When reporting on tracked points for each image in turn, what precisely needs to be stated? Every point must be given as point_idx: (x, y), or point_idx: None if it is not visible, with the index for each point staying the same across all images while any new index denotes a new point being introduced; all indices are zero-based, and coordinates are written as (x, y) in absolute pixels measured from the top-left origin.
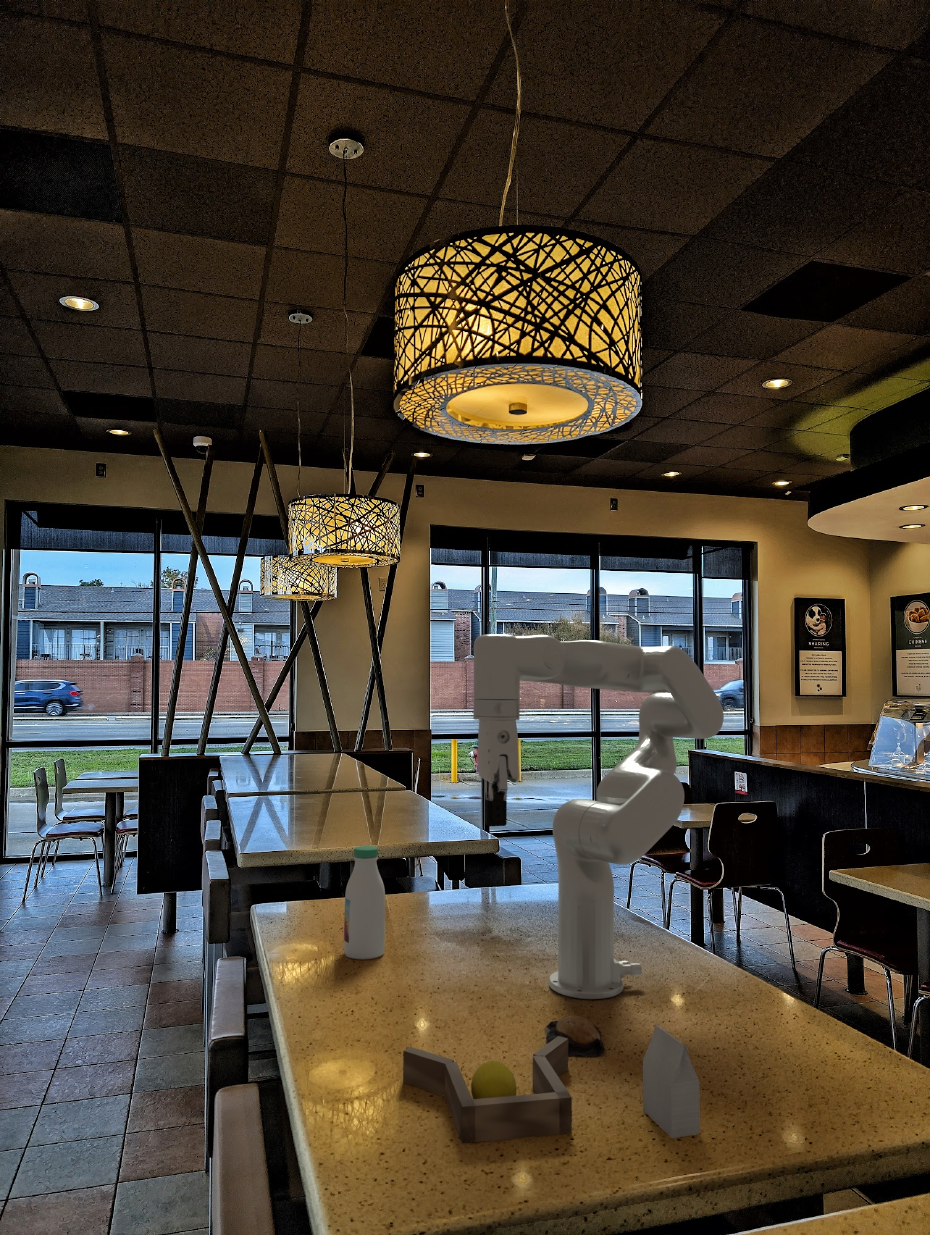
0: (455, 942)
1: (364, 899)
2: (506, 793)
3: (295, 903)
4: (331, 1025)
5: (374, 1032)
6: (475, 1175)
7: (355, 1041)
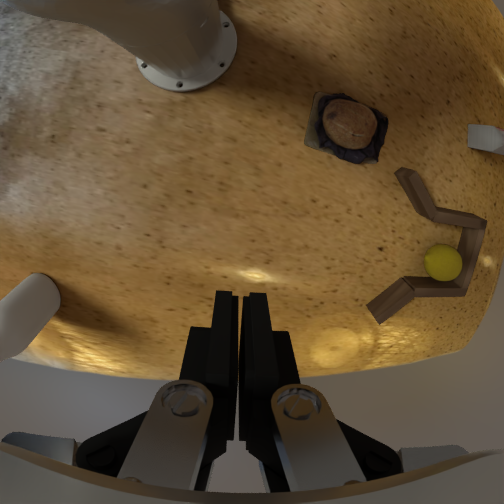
0: (9, 183)
1: (27, 335)
2: (340, 428)
3: None
4: None
5: None
6: (475, 284)
7: None
